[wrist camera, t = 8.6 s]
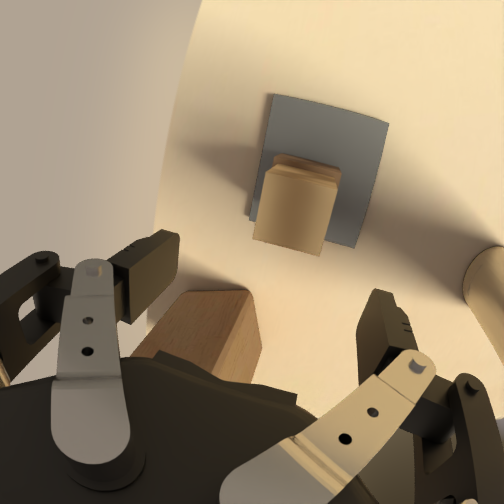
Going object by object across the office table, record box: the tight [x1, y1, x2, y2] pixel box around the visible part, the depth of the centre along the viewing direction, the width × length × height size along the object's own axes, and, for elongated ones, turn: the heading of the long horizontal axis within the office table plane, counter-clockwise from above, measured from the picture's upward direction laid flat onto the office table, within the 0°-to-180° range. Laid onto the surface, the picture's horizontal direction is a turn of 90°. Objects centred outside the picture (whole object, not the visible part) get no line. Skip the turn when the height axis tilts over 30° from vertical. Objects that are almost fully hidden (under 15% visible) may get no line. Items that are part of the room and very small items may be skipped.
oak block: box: [253, 164, 337, 256], centre depth 24 cm, size 5×5×6 cm
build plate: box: [249, 94, 389, 248], centre depth 30 cm, size 12×14×1 cm
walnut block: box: [272, 153, 342, 190], centre depth 29 cm, size 6×6×5 cm
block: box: [130, 290, 262, 384], centre depth 32 cm, size 10×10×20 cm
